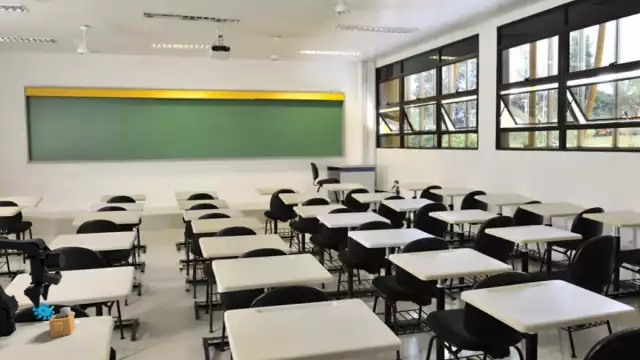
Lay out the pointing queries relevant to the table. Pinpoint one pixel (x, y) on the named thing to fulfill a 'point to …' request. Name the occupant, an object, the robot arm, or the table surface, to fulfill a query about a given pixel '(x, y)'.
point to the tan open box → (62, 323)
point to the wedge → (61, 316)
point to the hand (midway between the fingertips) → (41, 304)
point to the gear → (43, 311)
